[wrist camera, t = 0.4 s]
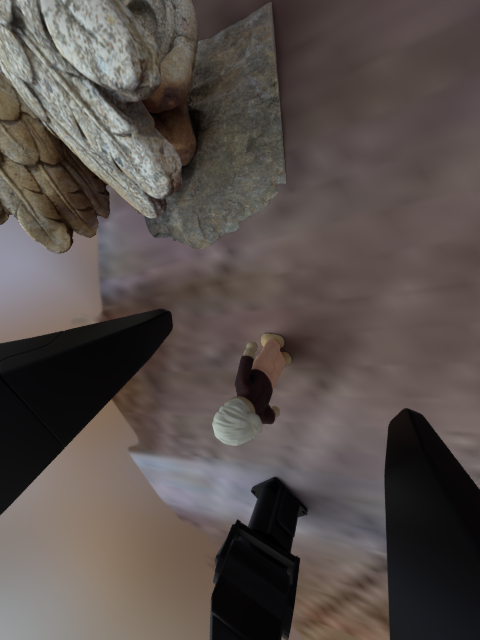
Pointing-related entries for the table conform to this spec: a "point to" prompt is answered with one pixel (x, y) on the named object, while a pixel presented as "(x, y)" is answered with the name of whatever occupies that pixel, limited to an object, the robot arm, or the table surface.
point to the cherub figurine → (135, 118)
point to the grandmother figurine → (252, 392)
